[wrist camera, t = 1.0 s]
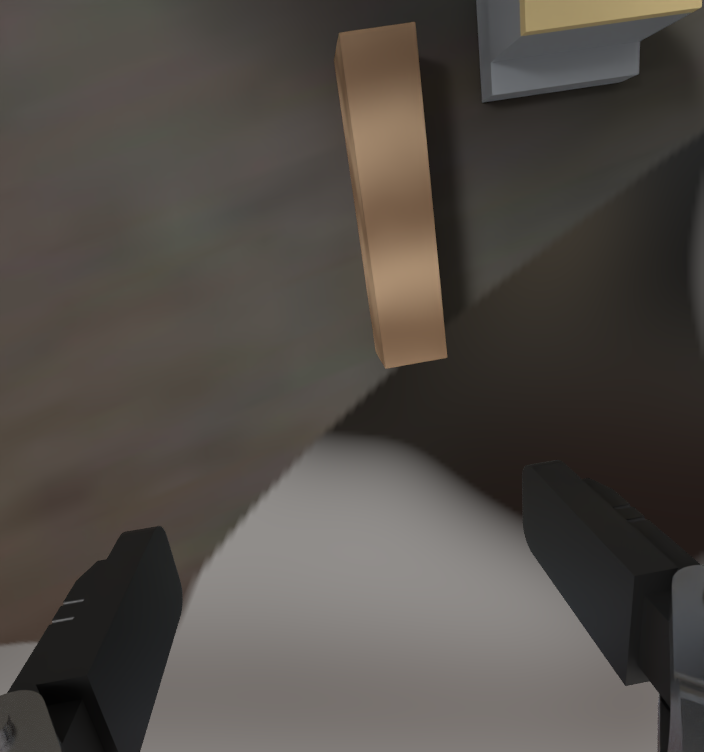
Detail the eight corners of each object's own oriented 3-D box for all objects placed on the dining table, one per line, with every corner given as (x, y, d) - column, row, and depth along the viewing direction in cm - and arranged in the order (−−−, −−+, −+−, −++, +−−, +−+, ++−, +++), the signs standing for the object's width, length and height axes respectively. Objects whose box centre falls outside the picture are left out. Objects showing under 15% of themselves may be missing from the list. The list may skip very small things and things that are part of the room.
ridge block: (474, -29, 24) (521, -99, 19) (623, -49, 25) (709, -122, 20) (481, 102, 26) (526, 71, 21) (620, 82, 27) (698, 46, 21)
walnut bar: (333, 61, 25) (339, 32, 21) (398, 52, 25) (415, 21, 22) (375, 350, 30) (385, 368, 26) (429, 341, 30) (447, 357, 27)
